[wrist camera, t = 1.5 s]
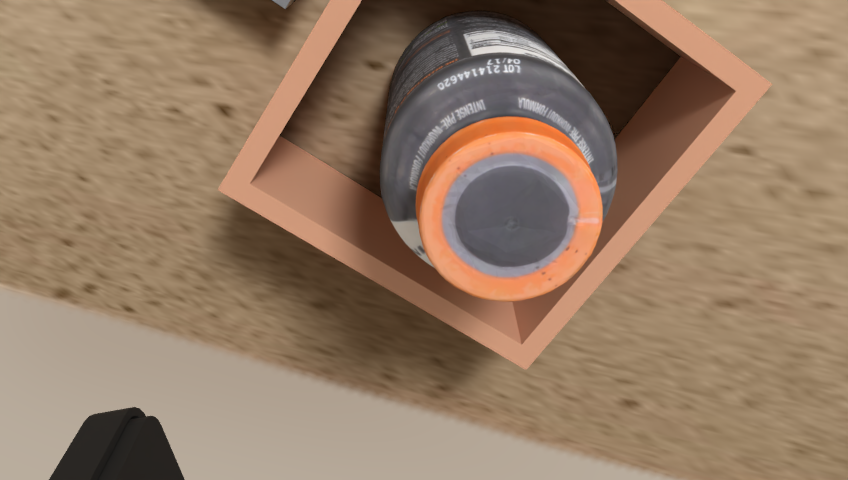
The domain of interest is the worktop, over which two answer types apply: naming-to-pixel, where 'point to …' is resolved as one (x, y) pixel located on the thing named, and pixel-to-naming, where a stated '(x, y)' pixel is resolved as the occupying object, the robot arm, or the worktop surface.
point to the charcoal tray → (284, 3)
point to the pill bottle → (495, 158)
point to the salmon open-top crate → (420, 282)
